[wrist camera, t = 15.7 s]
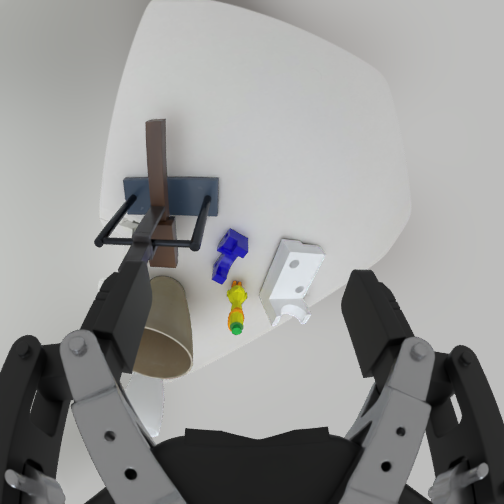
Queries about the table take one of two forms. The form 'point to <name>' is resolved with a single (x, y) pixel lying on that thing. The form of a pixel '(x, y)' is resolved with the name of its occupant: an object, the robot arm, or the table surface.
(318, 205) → the table surface
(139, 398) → the cup
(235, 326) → the toy figure
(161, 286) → the plant pot
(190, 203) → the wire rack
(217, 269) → the cable holder
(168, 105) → the table surface
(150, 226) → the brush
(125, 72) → the table surface
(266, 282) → the bracket
